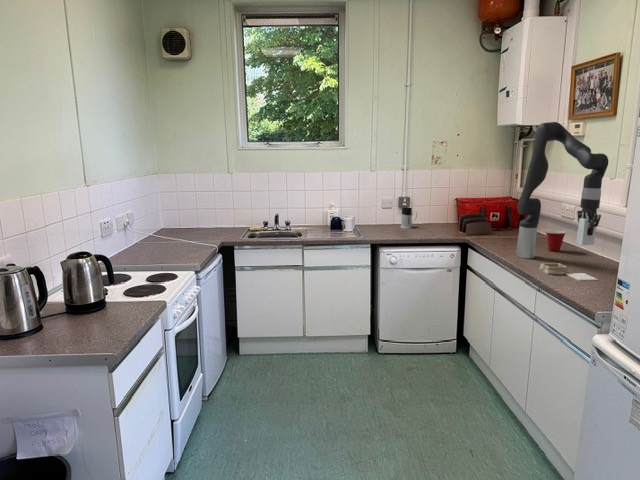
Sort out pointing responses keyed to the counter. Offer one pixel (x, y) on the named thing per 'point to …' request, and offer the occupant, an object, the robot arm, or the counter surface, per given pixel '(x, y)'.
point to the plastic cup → (555, 240)
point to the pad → (581, 276)
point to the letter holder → (474, 224)
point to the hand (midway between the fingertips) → (586, 234)
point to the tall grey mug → (407, 217)
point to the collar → (553, 268)
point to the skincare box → (585, 233)
